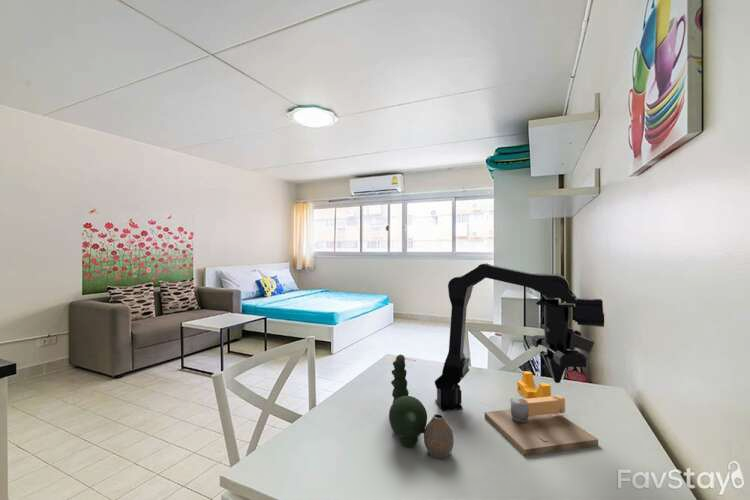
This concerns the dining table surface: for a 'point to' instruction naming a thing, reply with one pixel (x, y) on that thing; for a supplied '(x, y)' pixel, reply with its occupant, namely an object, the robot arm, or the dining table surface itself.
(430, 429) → the vase
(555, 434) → the mount plate
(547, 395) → the pipe clamp
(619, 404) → the dining table surface
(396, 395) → the toy figurine
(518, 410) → the latch lever
